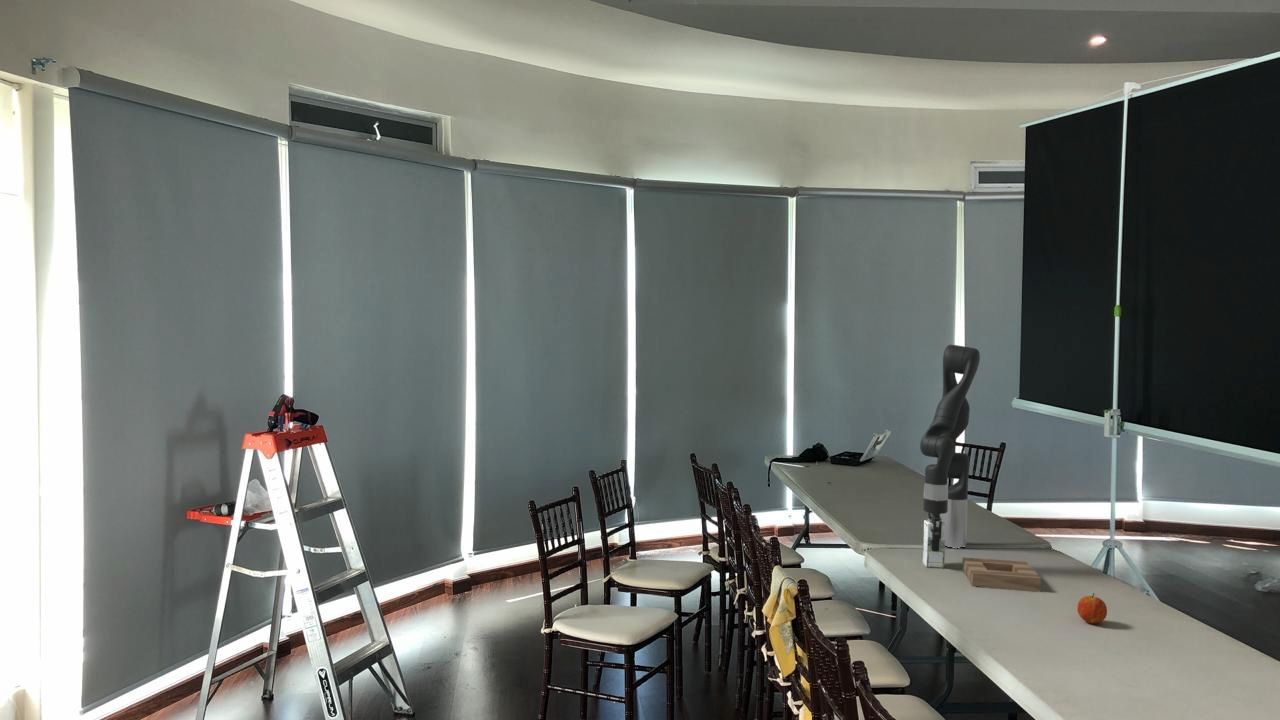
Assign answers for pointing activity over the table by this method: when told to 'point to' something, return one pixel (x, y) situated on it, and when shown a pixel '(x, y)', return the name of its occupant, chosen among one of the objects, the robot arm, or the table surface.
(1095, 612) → the fruit
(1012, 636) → the table surface
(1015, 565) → the socket block
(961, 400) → the robot arm
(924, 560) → the syrup box
